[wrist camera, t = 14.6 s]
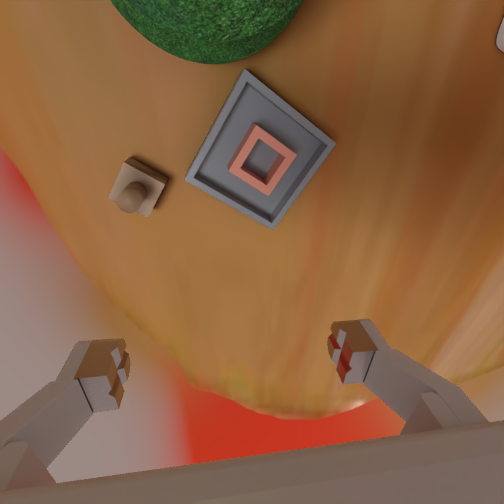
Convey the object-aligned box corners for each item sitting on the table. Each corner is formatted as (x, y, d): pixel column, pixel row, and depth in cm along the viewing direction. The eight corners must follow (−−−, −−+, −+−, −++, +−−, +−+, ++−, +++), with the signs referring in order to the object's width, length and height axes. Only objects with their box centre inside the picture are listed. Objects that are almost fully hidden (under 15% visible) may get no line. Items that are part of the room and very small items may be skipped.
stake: (168, 178, 36) (160, 195, 30) (152, 209, 37) (141, 231, 31) (130, 157, 34) (113, 170, 28) (115, 190, 35) (96, 210, 29)
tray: (327, 140, 36) (336, 143, 33) (268, 221, 41) (273, 230, 38) (241, 70, 31) (244, 68, 28) (186, 173, 36) (184, 179, 33)
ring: (252, 122, 33) (256, 124, 30) (290, 150, 35) (297, 154, 33) (226, 165, 35) (228, 171, 32) (264, 189, 37) (268, 196, 35)
